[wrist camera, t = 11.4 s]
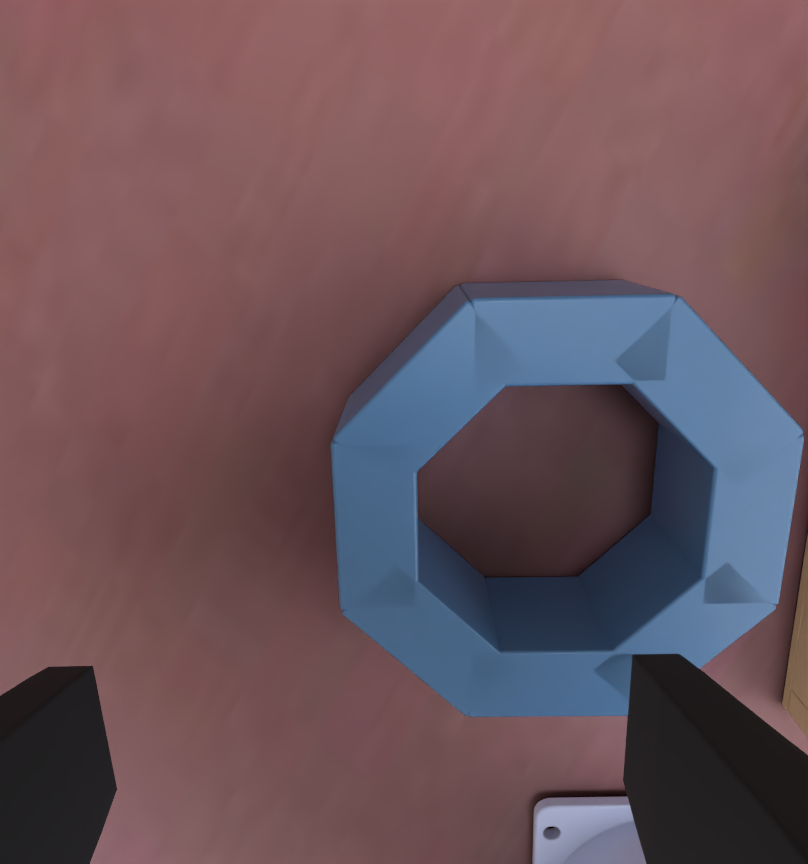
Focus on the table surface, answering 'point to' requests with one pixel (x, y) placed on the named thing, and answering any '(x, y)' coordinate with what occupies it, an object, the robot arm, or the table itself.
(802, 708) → the tray
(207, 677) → the table surface
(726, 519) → the ring
